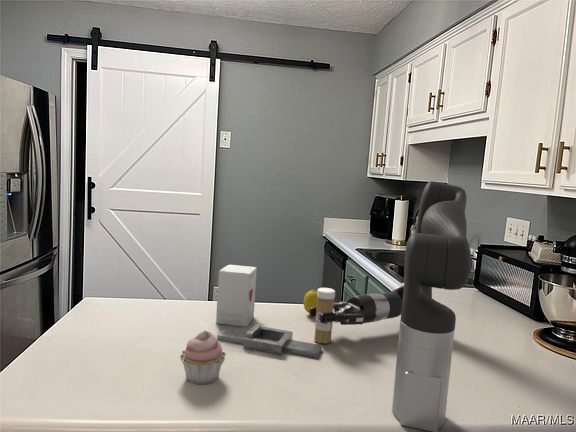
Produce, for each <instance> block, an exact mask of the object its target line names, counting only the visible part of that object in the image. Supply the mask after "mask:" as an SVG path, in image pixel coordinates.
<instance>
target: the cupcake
mask: <svg viewBox="0 0 576 432" xmlns="http://www.w3.org/2000/svg"><path fill="white" fill-rule="evenodd" d="M226 355H227V353H226V352H225V351H223V348H222V344H221V343H220V342H219V340H217V336H215V335H214V334H213V333H212V332H211V331H209V330H203V331H201V332H199V333H198V334H197V335H196V336H195V337H193V338H191V339H189V340H188V341H187V343H186V348H185V349H184V350H181V355H180V356H179V359H180V361H181V363H182V365H183V369H184V372H185V377H186V380H187V381H188V382H189V383H191V384H194V385H209V384H212V383H214V382H215V381H217V379H218V378H219V375H220V371H221V369H222V365H223V363H225V360H226Z"/></svg>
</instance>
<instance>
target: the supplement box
mask: <svg viewBox="0 0 576 432" xmlns="http://www.w3.org/2000/svg"><path fill="white" fill-rule="evenodd" d="M257 268H258V267H256V266H247V265H239V264H238V265H237V264H228V265H226V266H224V267H223V268H221V269H220V270H219V271H218V282H217V299H216V318H215V324H220V325H228V326H237V327H244V328H246V327H248V326H249V324H250V323H251V321H252V320H253V318H254V315H255V314H254V313H255V305H256V304H255V303H256V302H255V301H256V285H257V284H256V283H257Z"/></svg>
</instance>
